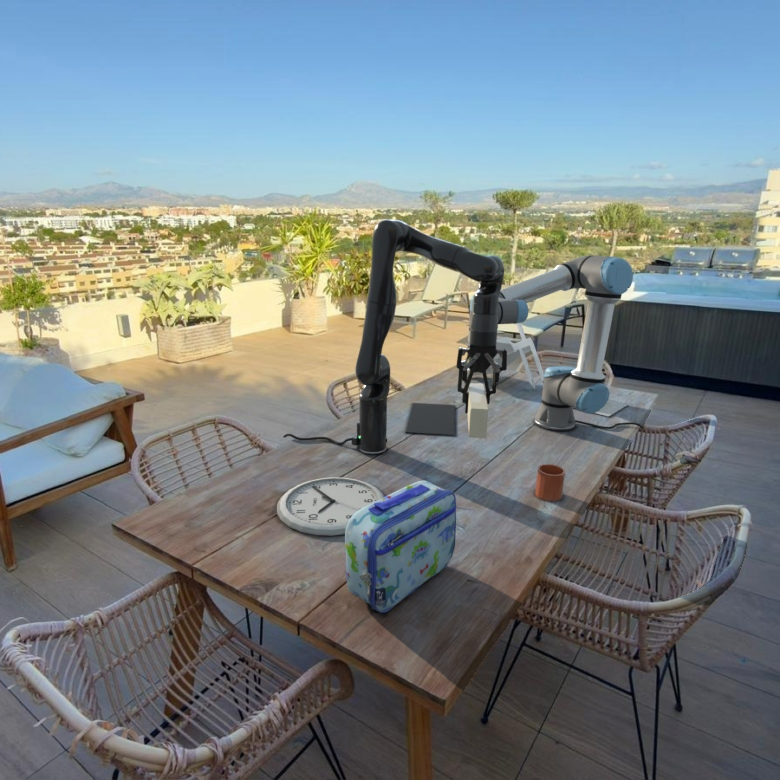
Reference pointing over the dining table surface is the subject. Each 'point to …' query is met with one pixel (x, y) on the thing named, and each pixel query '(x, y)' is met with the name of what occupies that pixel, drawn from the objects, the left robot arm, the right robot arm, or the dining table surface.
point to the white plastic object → (516, 354)
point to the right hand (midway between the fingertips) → (475, 412)
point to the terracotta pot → (550, 482)
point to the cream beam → (477, 411)
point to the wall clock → (325, 504)
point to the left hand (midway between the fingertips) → (480, 383)
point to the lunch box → (399, 543)
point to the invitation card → (610, 408)
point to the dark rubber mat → (432, 419)
